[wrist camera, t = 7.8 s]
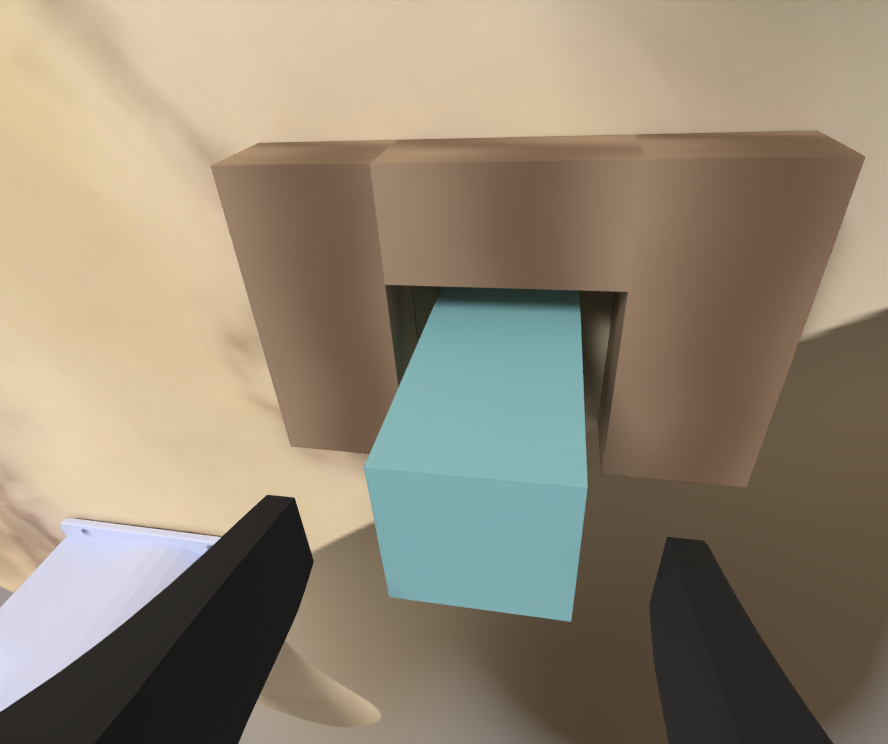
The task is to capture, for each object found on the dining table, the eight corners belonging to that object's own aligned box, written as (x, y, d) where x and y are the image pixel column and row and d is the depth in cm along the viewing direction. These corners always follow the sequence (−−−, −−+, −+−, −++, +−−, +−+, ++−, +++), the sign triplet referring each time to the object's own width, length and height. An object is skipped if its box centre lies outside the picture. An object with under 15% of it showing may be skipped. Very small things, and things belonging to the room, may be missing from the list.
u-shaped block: (318, 401, 20) (290, 446, 18) (258, 143, 15) (210, 165, 13) (726, 430, 18) (746, 487, 16) (817, 130, 12) (866, 156, 10)
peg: (450, 389, 19) (389, 596, 12) (444, 282, 16) (363, 467, 10) (569, 396, 18) (571, 621, 11) (579, 285, 16) (587, 488, 9)
